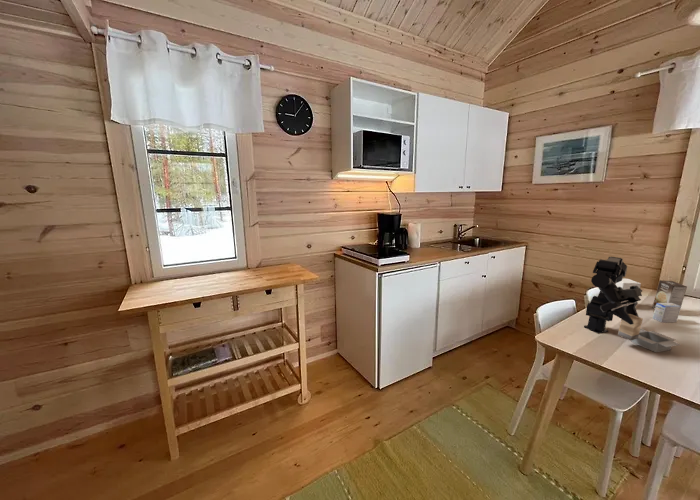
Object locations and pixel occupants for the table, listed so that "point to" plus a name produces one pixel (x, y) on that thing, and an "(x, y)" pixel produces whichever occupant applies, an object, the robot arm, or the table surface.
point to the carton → (654, 341)
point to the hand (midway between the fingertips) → (635, 322)
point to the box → (630, 328)
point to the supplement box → (627, 284)
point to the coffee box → (669, 293)
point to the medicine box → (666, 312)
